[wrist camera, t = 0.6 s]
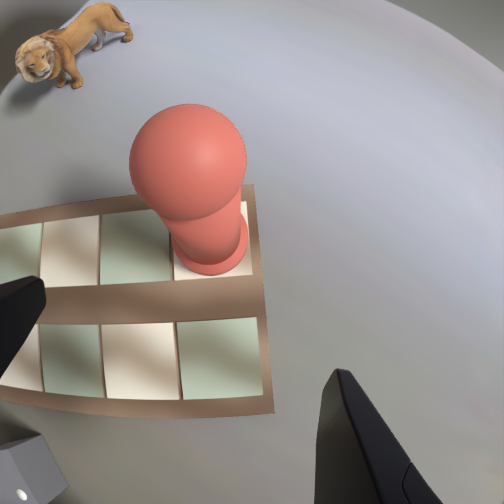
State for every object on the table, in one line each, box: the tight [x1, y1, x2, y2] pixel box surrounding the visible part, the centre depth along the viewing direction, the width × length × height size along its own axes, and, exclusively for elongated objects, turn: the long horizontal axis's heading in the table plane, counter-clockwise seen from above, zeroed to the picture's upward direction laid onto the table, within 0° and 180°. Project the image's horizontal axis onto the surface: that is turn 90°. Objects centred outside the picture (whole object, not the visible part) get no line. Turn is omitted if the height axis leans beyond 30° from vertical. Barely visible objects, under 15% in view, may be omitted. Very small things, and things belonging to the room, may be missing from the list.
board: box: [0, 184, 274, 418], centre depth 21 cm, size 16×23×1 cm
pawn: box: [129, 104, 248, 276], centre depth 16 cm, size 5×5×13 cm
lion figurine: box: [15, 2, 133, 89], centre depth 23 cm, size 15×5×9 cm, turn 156°
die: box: [0, 435, 69, 504], centre depth 16 cm, size 5×5×5 cm
